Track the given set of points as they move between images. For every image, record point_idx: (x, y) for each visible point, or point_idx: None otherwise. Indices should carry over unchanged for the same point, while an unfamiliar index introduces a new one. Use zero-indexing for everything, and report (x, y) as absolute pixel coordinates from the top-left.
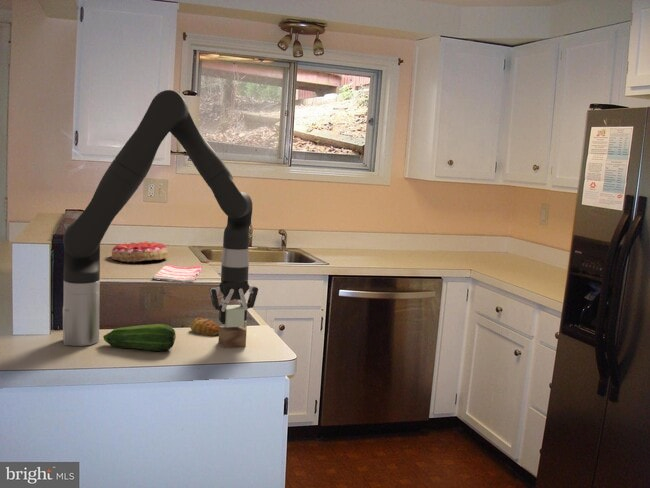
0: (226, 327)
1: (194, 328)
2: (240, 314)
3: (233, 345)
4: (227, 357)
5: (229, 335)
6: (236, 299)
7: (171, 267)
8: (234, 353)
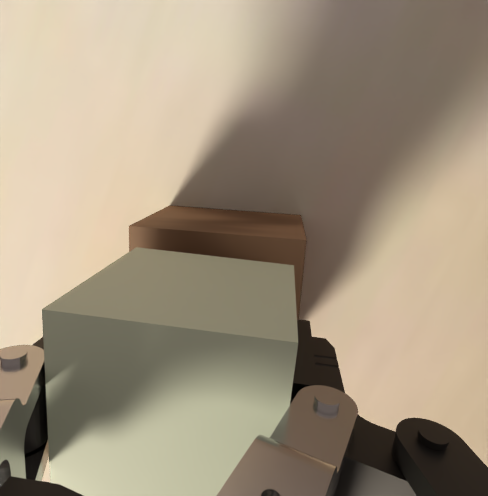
0: None
1: None
2: (128, 291)
3: (246, 214)
4: (365, 36)
5: (274, 229)
6: (76, 493)
7: None
8: (286, 103)
